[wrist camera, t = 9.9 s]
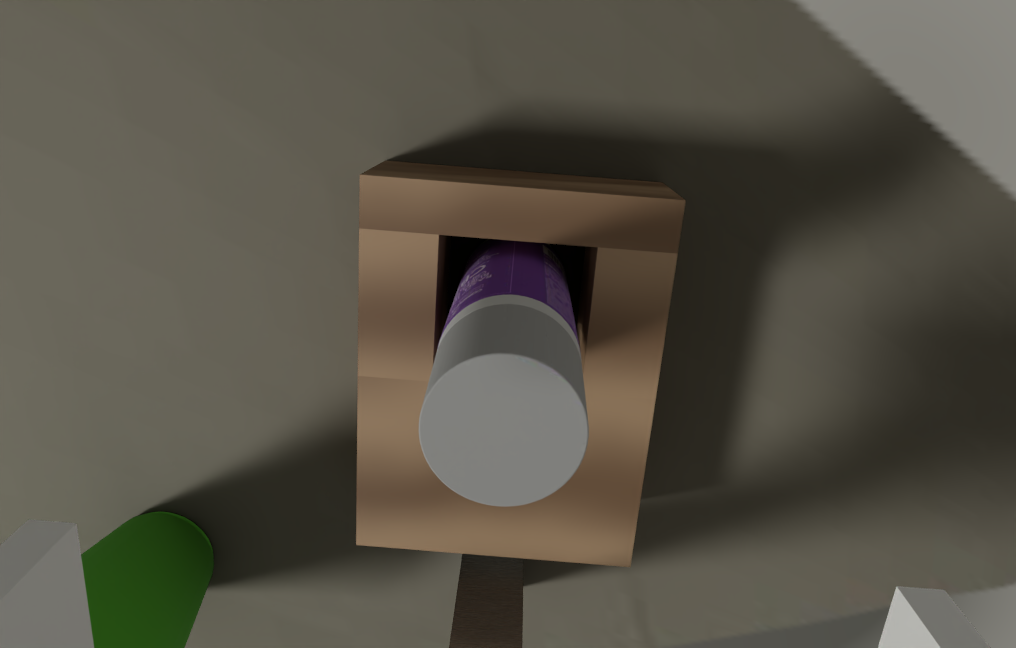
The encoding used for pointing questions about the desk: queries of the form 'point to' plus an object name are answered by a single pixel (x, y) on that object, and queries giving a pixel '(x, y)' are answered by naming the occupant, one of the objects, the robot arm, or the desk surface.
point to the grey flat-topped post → (488, 603)
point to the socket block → (601, 334)
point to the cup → (147, 582)
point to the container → (507, 380)
